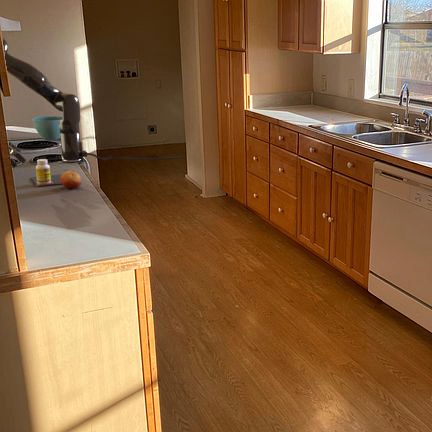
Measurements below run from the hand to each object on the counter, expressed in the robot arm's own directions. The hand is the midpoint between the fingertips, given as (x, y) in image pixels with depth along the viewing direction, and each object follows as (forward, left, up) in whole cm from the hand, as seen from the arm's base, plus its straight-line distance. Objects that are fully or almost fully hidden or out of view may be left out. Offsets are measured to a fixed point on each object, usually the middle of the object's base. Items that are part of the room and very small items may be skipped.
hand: (20, 163), depth 238 cm
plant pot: (-29, -102, -9) cm, 106 cm away
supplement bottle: (-8, +5, -8) cm, 12 cm away
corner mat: (-13, 0, -9) cm, 15 cm away
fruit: (-17, +16, -9) cm, 25 cm away
